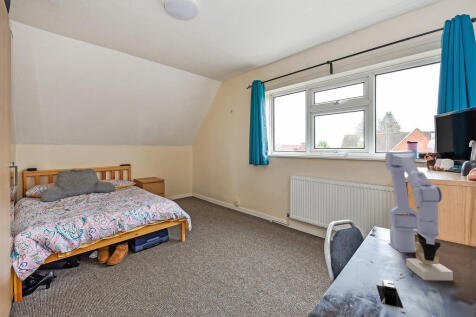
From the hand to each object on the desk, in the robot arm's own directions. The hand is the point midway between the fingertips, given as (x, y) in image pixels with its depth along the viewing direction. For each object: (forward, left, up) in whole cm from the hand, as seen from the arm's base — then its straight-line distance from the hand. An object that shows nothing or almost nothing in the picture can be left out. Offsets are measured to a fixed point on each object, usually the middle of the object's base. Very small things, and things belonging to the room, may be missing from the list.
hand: (427, 256), depth 77 cm
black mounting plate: (+13, -21, -7) cm, 25 cm away
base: (0, 0, -6) cm, 6 cm away
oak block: (0, 0, -2) cm, 2 cm away
